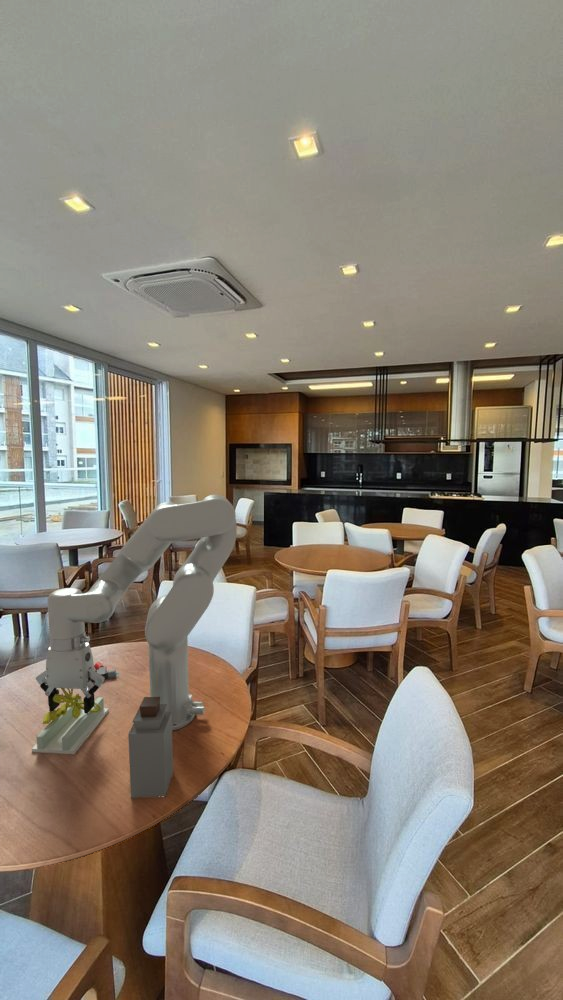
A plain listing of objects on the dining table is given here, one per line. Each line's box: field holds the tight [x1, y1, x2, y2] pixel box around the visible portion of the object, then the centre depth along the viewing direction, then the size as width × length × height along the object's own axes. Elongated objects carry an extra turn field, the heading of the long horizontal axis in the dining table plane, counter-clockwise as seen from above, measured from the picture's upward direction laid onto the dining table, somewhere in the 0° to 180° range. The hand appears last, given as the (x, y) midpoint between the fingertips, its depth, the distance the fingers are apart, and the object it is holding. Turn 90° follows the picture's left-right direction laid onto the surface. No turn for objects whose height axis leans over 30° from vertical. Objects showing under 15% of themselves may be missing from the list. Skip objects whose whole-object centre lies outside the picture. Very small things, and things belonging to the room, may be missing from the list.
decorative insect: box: [42, 688, 101, 725], centre depth 100 cm, size 13×3×10 cm
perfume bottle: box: [127, 696, 174, 799], centre depth 84 cm, size 7×7×18 cm
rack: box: [31, 696, 110, 755], centre depth 102 cm, size 10×16×4 cm, turn 176°
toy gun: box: [90, 662, 120, 683], centre depth 128 cm, size 10×12×5 cm
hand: (71, 708), depth 102 cm, fingers closed on decorative insect, 8 cm apart
